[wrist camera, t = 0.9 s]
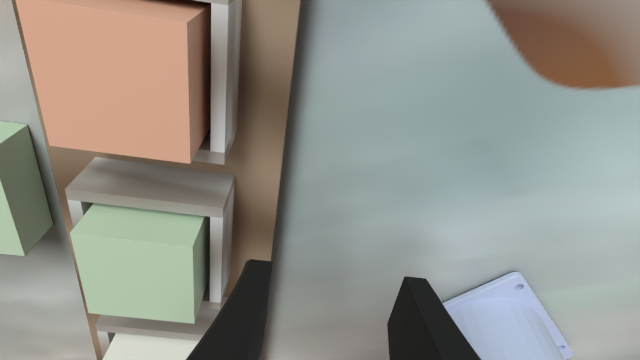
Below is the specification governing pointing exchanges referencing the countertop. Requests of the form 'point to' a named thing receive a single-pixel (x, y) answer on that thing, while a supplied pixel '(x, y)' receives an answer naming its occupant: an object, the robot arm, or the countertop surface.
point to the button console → (203, 161)
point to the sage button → (142, 262)
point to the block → (20, 192)
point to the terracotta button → (122, 74)
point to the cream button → (148, 348)
